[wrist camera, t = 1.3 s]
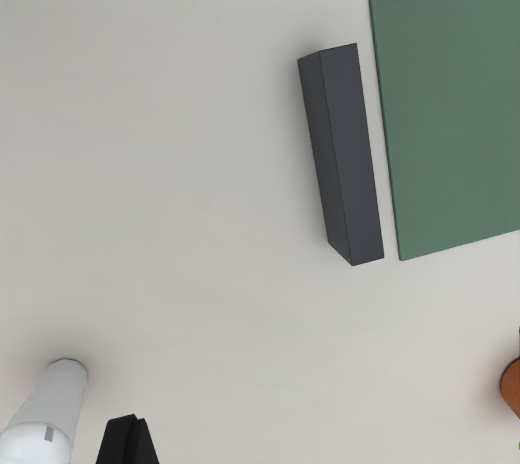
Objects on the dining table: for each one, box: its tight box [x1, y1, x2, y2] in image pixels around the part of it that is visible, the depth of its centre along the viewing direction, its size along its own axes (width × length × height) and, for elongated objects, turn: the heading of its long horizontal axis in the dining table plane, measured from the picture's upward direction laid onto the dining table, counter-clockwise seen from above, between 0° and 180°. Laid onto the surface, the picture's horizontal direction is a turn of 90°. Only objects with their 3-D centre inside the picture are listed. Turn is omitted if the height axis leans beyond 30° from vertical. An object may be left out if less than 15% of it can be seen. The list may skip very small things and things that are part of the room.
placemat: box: [369, 0, 520, 261], centre depth 33 cm, size 20×13×1 cm, turn 12°
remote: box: [297, 43, 384, 266], centre depth 30 cm, size 14×3×5 cm, turn 12°
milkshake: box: [0, 359, 88, 464], centre depth 29 cm, size 4×5×10 cm
